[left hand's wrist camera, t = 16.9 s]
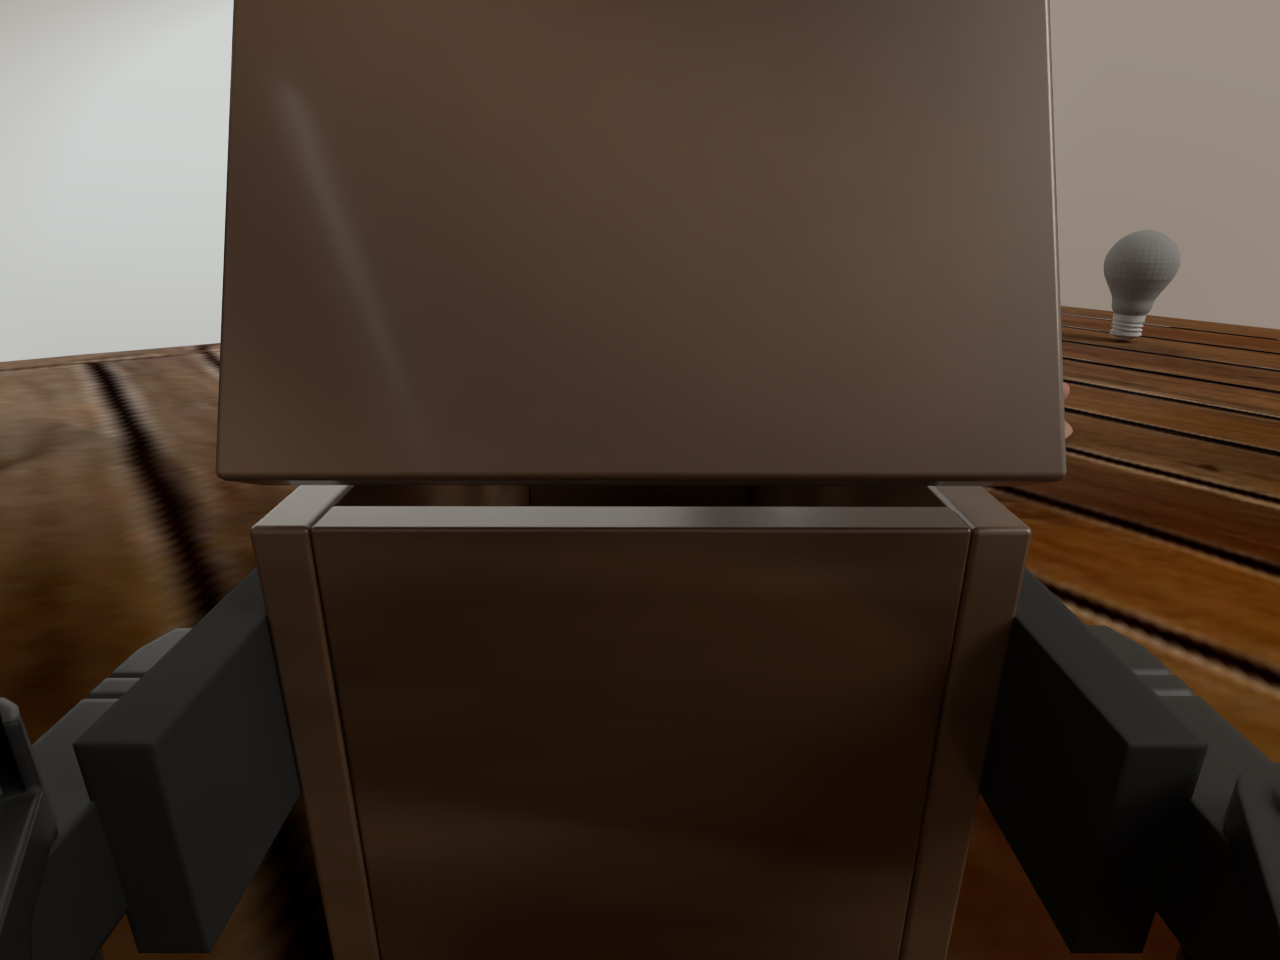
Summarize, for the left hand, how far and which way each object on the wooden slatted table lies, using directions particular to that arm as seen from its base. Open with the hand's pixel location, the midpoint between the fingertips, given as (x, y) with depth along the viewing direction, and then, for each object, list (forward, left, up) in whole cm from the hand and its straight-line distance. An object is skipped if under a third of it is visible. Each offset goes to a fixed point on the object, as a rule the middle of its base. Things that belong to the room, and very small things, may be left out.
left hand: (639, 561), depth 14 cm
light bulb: (-20, +75, -7) cm, 78 cm away
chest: (-3, +3, -7) cm, 8 cm away
